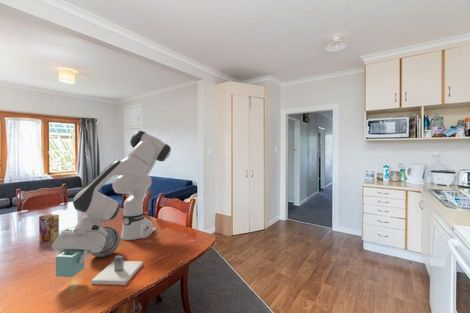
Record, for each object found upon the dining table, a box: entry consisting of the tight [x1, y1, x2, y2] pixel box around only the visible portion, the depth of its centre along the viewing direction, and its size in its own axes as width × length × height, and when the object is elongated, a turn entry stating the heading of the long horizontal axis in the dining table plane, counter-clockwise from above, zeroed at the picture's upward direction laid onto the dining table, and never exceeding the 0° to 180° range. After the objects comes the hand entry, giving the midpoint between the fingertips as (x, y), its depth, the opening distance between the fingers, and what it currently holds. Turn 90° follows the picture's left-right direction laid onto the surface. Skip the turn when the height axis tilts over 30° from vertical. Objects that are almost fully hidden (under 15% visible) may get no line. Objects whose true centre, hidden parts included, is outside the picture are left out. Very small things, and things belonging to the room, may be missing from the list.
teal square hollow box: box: [55, 249, 85, 278], centre depth 90 cm, size 7×7×8 cm
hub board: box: [90, 260, 144, 286], centre depth 98 cm, size 16×14×2 cm
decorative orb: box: [90, 225, 121, 258], centre depth 115 cm, size 15×14×15 cm
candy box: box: [38, 214, 60, 243], centre depth 133 cm, size 9×4×15 cm, turn 89°
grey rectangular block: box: [113, 255, 125, 271], centre depth 98 cm, size 2×3×6 cm, turn 88°
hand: (69, 262), depth 90 cm, fingers closed on teal square hollow box, 7 cm apart
